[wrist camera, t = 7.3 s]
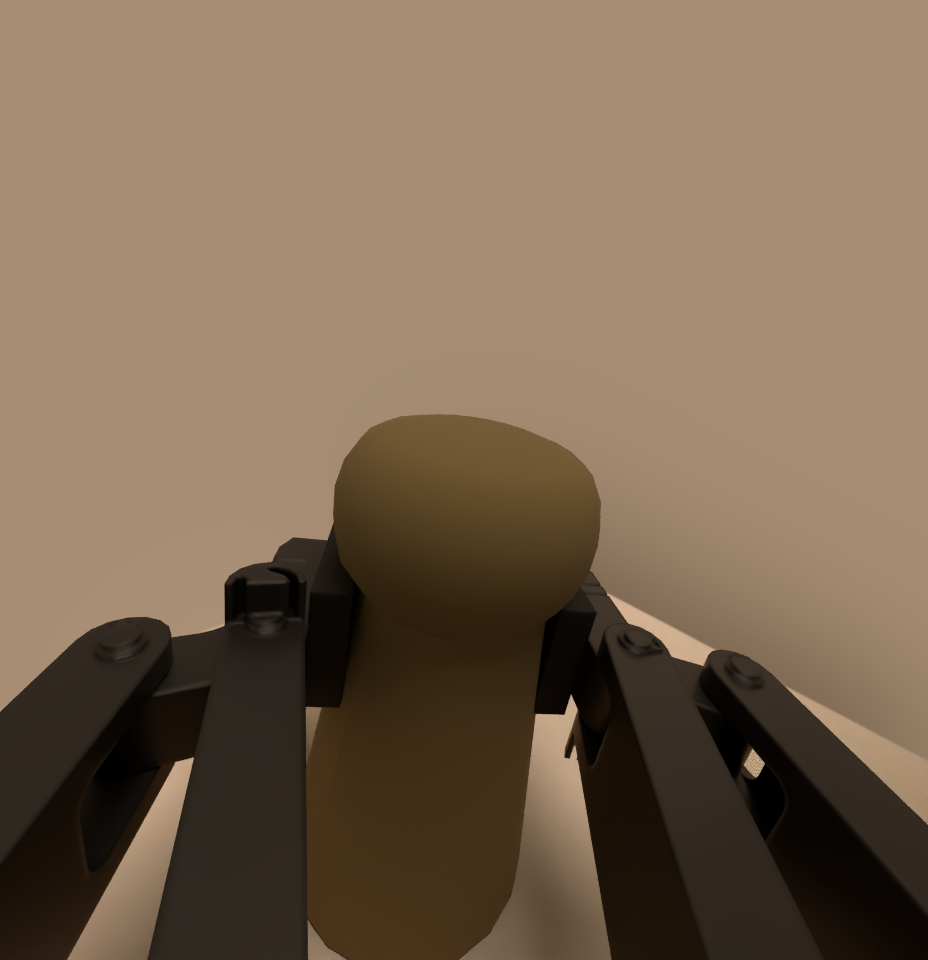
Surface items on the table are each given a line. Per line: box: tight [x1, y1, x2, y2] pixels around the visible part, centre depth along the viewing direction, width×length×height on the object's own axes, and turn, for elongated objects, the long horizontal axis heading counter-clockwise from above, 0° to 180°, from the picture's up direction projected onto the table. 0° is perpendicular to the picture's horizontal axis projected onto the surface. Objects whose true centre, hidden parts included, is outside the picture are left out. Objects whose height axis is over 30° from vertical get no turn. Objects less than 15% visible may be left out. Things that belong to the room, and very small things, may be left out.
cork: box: [306, 415, 601, 960], centre depth 10 cm, size 6×6×11 cm
